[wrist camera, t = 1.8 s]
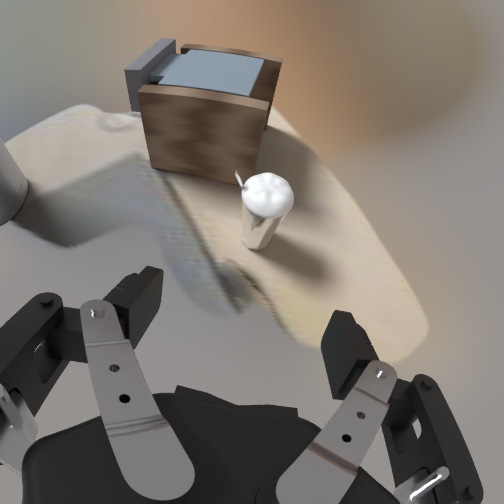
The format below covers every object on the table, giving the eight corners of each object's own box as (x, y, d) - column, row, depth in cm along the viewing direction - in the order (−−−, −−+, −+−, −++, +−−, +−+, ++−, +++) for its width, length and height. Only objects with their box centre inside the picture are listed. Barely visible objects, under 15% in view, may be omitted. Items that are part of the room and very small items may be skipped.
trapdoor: (131, 112, 27) (123, 70, 21) (163, 74, 31) (161, 38, 25) (243, 128, 27) (250, 82, 22) (258, 87, 31) (266, 49, 26)
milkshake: (232, 213, 32) (241, 152, 23) (278, 225, 32) (302, 168, 23) (222, 248, 30) (227, 193, 21) (271, 260, 30) (296, 210, 21)
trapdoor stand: (151, 167, 33) (137, 91, 22) (185, 109, 38) (185, 43, 28) (249, 187, 33) (266, 110, 23) (267, 124, 39) (283, 58, 28)
